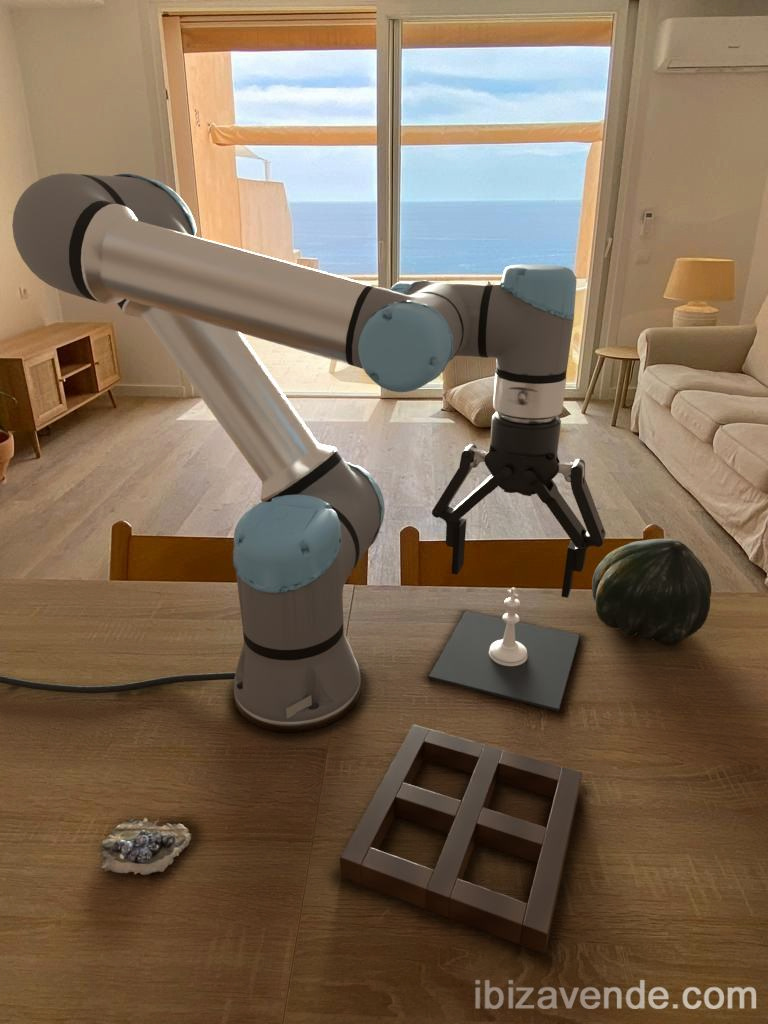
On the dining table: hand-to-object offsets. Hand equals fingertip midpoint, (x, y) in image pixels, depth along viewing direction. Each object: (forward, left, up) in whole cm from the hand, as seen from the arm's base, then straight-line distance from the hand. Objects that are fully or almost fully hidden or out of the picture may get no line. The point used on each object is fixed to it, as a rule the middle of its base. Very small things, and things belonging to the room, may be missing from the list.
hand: (510, 580), depth 85 cm
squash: (+16, +14, -12) cm, 25 cm away
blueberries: (-24, -41, -12) cm, 49 cm away
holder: (+3, -28, -11) cm, 30 cm away
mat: (0, 0, -11) cm, 11 cm away
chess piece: (0, 0, -11) cm, 11 cm away
